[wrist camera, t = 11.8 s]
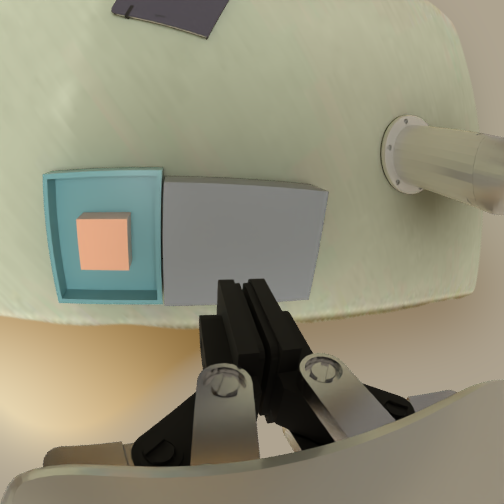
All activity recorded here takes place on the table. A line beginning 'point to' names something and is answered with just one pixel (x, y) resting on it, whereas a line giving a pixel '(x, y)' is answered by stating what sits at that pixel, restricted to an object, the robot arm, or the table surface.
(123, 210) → the tray
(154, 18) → the notebook
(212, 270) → the slate bench plate
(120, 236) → the terracotta block
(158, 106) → the table surface
